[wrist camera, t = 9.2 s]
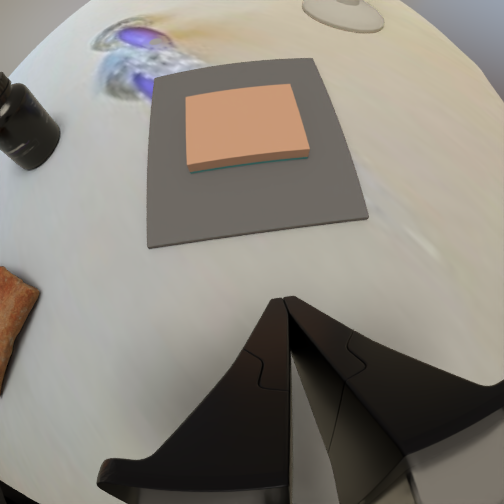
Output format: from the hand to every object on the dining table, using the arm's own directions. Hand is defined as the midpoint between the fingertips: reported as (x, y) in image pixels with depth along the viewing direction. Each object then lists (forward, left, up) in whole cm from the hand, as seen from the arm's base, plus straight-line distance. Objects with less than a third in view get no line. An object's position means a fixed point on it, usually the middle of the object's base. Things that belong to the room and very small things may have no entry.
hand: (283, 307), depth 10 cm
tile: (+11, -6, -10) cm, 16 cm away
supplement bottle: (+31, +10, -12) cm, 35 cm away
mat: (+14, -8, -12) cm, 20 cm away
